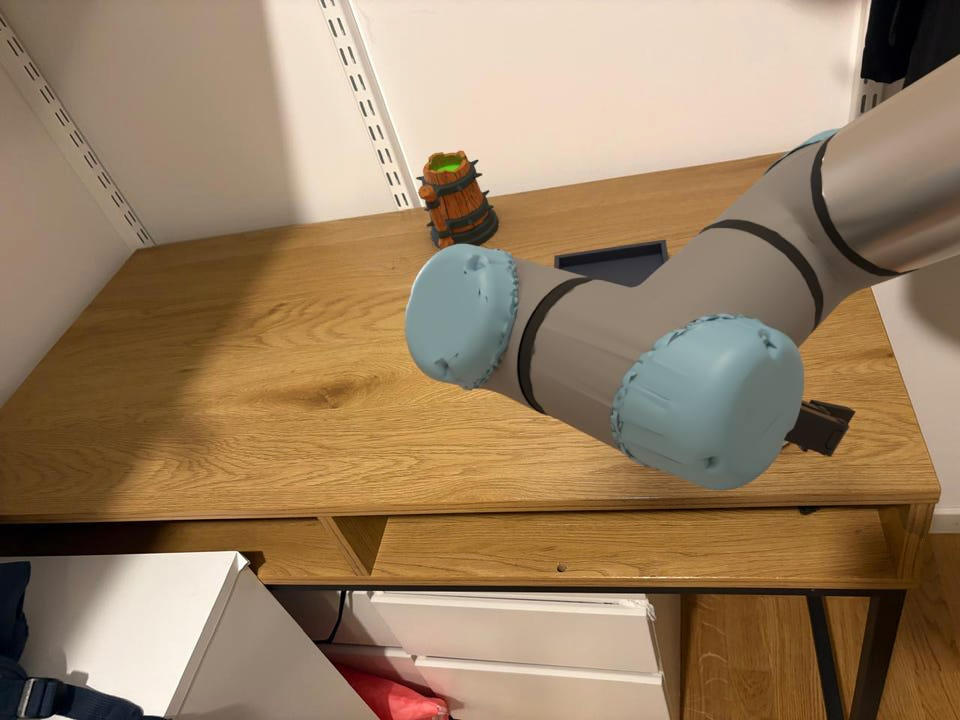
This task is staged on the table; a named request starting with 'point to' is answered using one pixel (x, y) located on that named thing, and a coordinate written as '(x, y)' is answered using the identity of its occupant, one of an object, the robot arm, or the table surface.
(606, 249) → the dark tray
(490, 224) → the mug
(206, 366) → the table surface
